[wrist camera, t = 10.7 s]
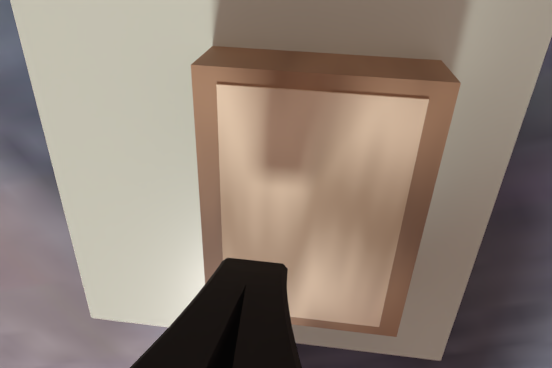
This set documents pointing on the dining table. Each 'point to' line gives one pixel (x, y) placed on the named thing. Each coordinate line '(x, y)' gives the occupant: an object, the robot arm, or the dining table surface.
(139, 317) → the mat
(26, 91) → the dining table surface
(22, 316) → the dining table surface
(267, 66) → the walnut slab
